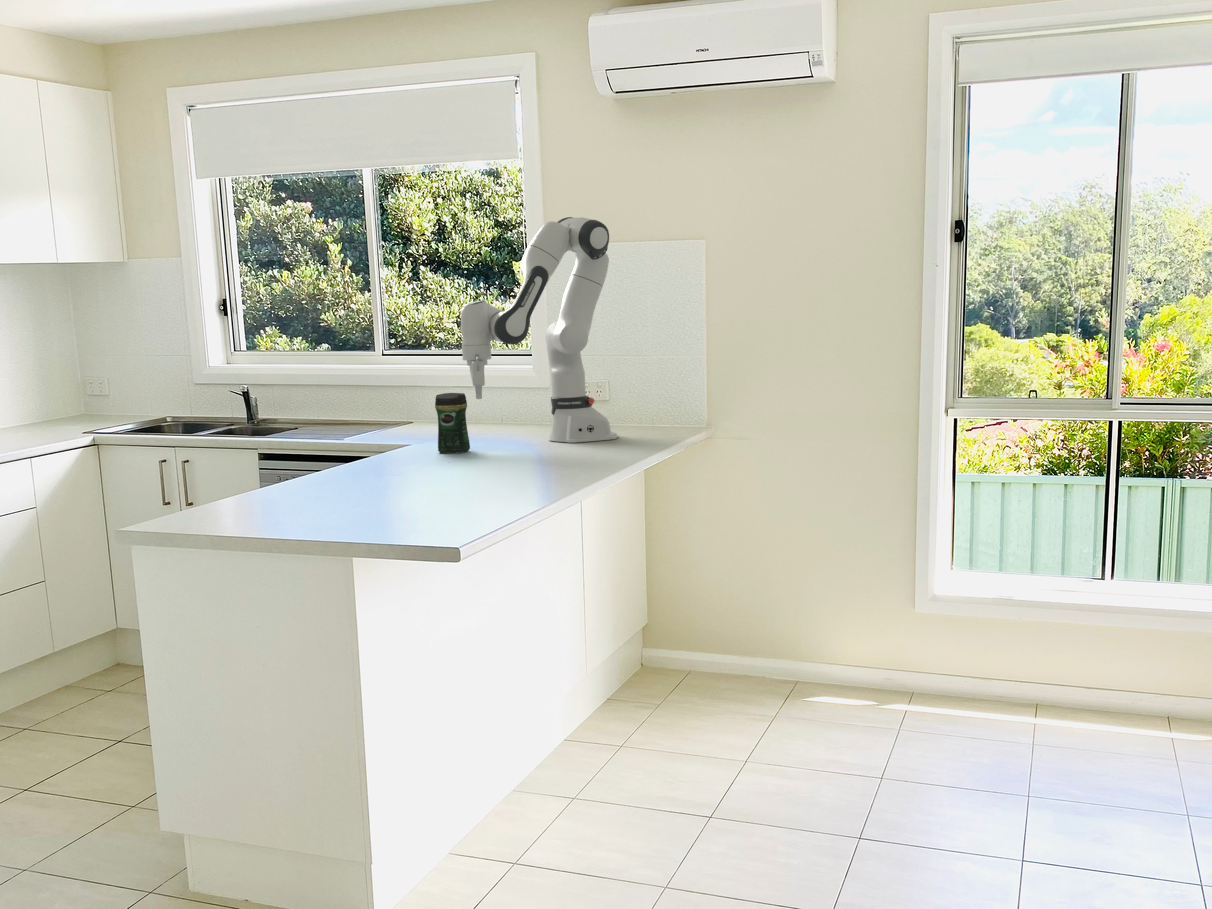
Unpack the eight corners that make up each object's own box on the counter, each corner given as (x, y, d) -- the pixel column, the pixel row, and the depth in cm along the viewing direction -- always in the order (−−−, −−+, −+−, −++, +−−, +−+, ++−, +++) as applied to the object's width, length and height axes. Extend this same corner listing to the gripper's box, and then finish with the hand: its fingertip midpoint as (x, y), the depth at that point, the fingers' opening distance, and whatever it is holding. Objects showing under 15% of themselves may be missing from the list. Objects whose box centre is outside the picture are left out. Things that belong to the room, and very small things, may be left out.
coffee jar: (473, 450, 344) (469, 391, 341) (463, 454, 336) (460, 393, 334) (444, 450, 346) (441, 391, 344) (434, 454, 339) (430, 394, 336)
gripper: (487, 355, 328) (490, 401, 330) (486, 352, 348) (488, 395, 350) (466, 356, 327) (469, 402, 329) (466, 352, 347) (468, 396, 349)
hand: (479, 398), depth 340 cm, fingers closed
